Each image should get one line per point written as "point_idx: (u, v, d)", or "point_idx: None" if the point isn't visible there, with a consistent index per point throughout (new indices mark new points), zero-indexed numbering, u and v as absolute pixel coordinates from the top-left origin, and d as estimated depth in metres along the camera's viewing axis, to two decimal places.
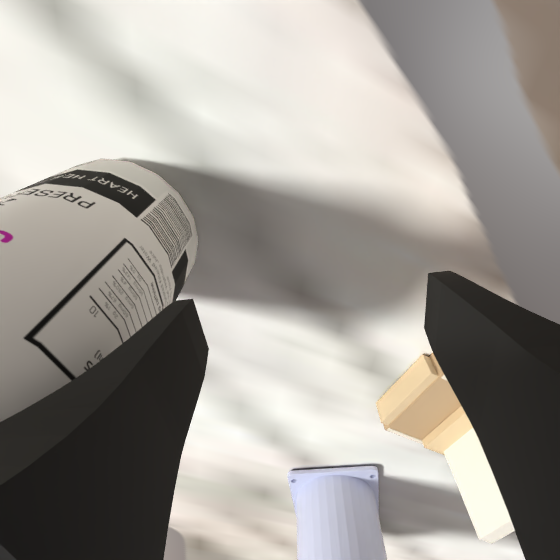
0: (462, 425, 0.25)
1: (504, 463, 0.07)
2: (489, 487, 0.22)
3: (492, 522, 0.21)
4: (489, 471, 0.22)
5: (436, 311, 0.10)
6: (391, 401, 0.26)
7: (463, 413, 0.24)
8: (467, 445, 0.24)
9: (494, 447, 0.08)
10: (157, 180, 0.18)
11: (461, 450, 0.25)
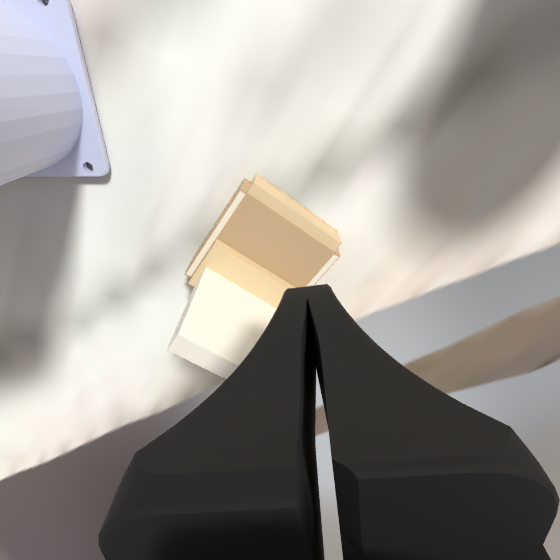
0: (258, 284, 0.20)
1: None
2: (231, 328, 0.17)
3: (209, 343, 0.15)
4: (242, 323, 0.17)
5: None
6: (280, 196, 0.19)
7: (280, 282, 0.20)
8: (236, 293, 0.19)
9: None
10: None
11: (227, 288, 0.19)
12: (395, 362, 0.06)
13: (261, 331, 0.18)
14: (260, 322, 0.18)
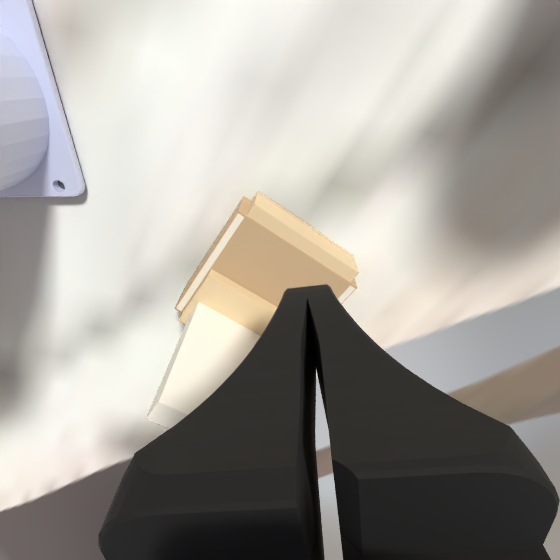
0: (260, 320, 0.17)
1: None
2: None
3: None
4: None
5: None
6: (285, 218, 0.16)
7: None
8: (235, 333, 0.16)
9: None
10: None
11: (223, 327, 0.16)
12: (395, 362, 0.06)
13: None
14: None
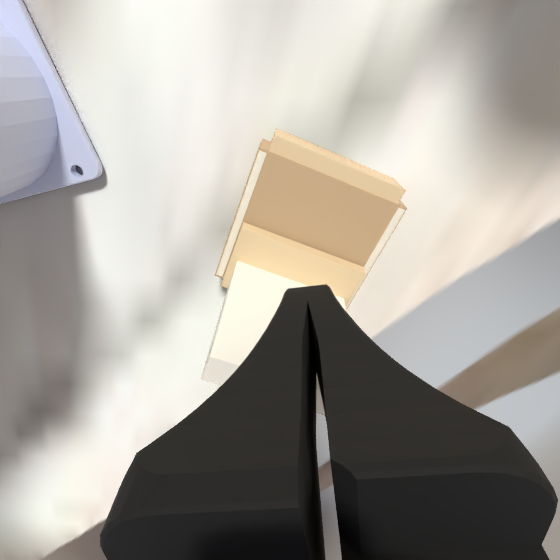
0: (307, 268, 0.15)
1: None
2: None
3: None
4: None
5: None
6: (311, 147, 0.14)
7: (334, 261, 0.15)
8: (281, 286, 0.15)
9: None
10: None
11: (268, 281, 0.15)
12: (394, 362, 0.06)
13: None
14: None
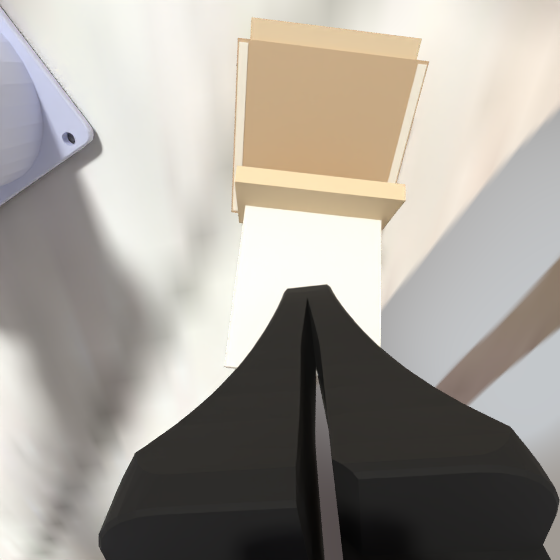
0: (328, 203, 0.12)
1: None
2: None
3: None
4: None
5: None
6: None
7: (360, 193, 0.12)
8: (300, 230, 0.13)
9: None
10: None
11: (283, 228, 0.13)
12: (395, 362, 0.06)
13: (346, 287, 0.12)
14: (342, 269, 0.12)
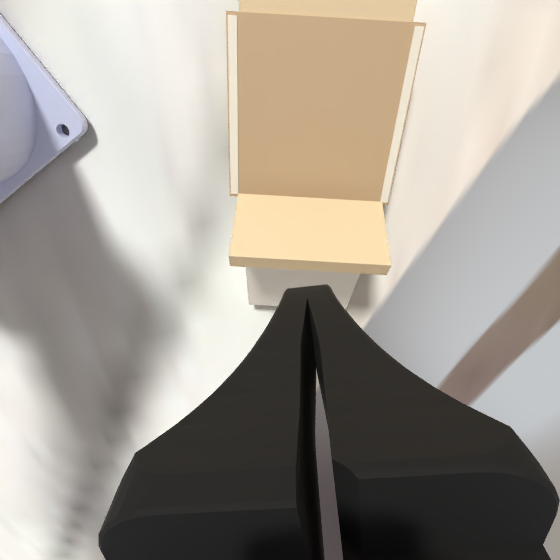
0: None
1: None
2: (293, 286, 0.17)
3: (275, 302, 0.18)
4: (306, 278, 0.16)
5: None
6: None
7: (345, 271, 0.13)
8: None
9: None
10: None
11: None
12: (395, 362, 0.06)
13: (331, 277, 0.16)
14: None
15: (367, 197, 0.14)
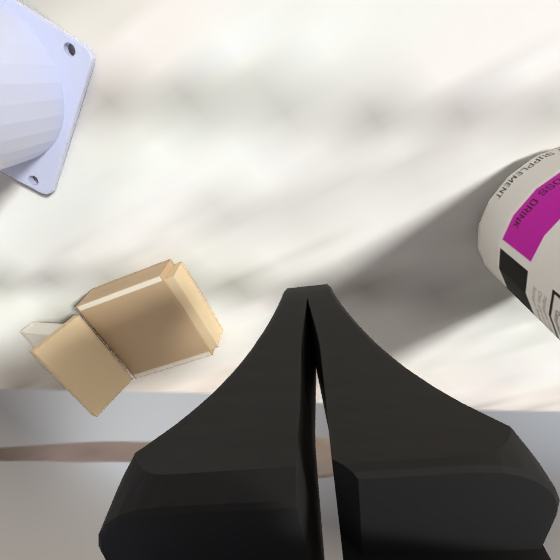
0: None
1: None
2: None
3: None
4: None
5: None
6: (190, 290, 0.22)
7: (77, 399, 0.21)
8: None
9: None
10: None
11: None
12: (395, 362, 0.06)
13: None
14: None
15: (131, 368, 0.24)
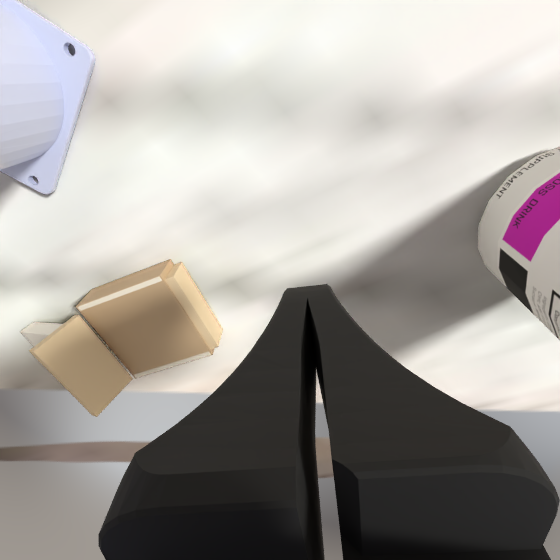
0: None
1: None
2: None
3: None
4: None
5: None
6: (190, 290, 0.22)
7: (77, 399, 0.21)
8: None
9: None
10: None
11: None
12: (395, 362, 0.06)
13: None
14: None
15: (131, 368, 0.24)
